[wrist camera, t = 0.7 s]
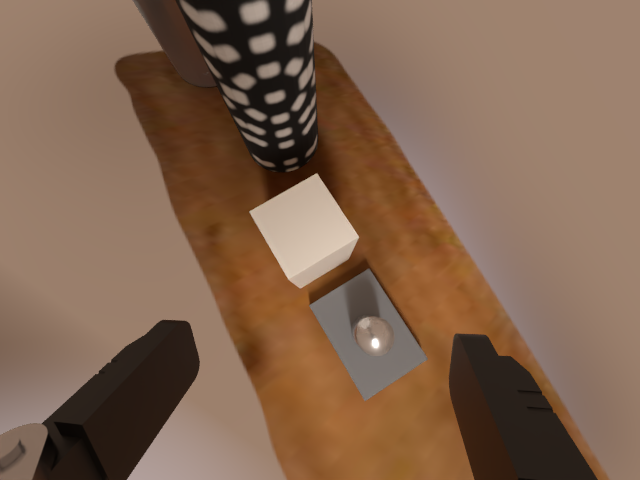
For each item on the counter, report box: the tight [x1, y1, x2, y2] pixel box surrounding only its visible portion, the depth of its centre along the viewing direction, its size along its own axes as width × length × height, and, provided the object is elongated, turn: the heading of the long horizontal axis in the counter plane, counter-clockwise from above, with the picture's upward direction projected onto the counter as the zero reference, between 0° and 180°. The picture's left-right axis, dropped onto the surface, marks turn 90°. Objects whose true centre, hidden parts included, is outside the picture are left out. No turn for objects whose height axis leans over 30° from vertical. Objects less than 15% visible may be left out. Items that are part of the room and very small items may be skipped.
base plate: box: [309, 269, 428, 401], centre depth 27 cm, size 10×7×6 cm
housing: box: [249, 173, 359, 288], centre depth 27 cm, size 6×6×10 cm
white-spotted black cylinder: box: [175, 0, 318, 172], centre depth 25 cm, size 8×8×20 cm
